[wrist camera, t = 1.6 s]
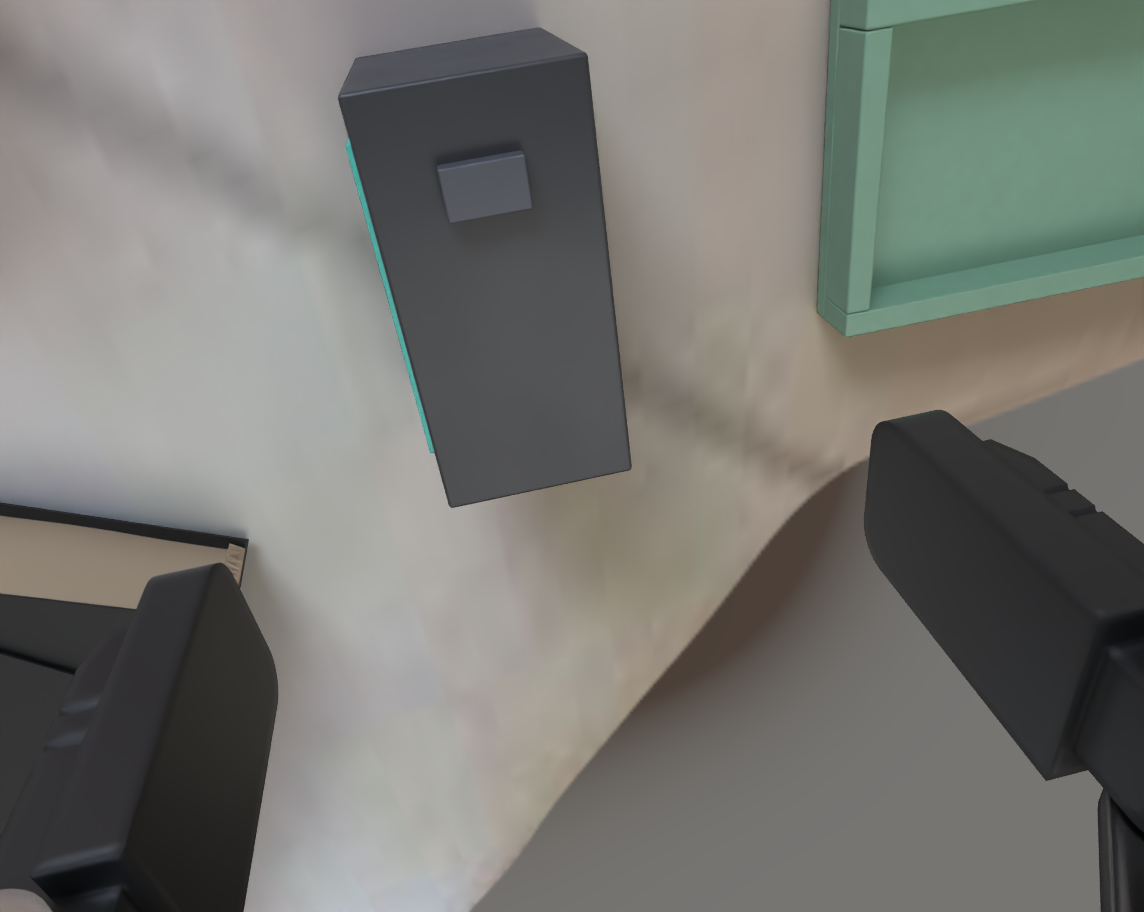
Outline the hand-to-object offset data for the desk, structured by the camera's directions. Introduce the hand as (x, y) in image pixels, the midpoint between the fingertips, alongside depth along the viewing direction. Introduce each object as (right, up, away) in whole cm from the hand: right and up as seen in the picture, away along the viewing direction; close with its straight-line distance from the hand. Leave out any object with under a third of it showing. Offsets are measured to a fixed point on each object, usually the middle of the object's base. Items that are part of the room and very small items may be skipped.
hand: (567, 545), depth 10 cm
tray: (+15, +11, +12) cm, 22 cm away
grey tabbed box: (-2, +7, +11) cm, 13 cm away
